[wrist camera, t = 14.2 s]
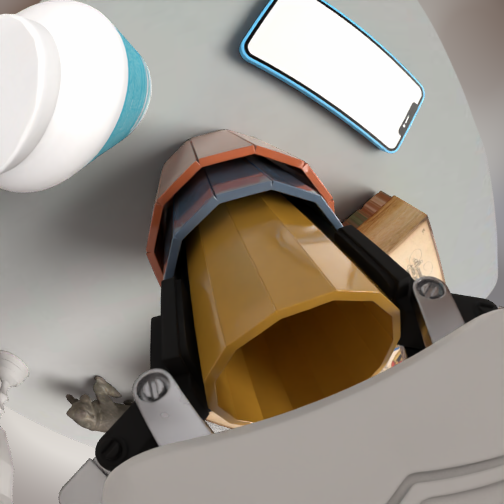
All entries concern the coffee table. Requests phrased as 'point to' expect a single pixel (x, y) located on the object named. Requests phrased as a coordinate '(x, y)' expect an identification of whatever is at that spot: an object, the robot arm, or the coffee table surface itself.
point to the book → (391, 248)
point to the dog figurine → (97, 407)
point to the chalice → (11, 375)
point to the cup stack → (225, 191)
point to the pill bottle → (64, 92)
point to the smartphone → (336, 67)
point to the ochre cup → (280, 310)
